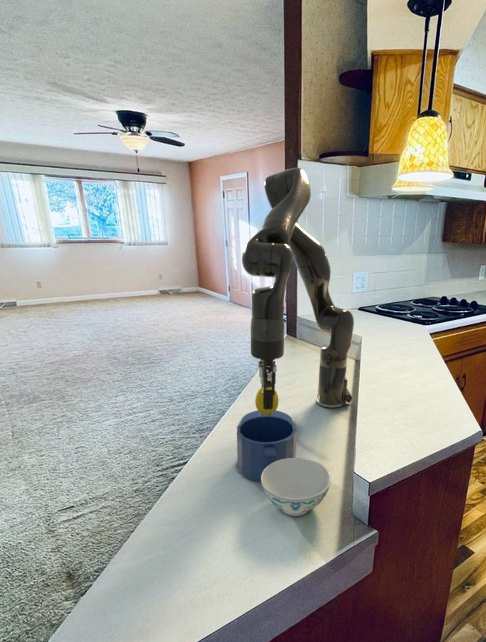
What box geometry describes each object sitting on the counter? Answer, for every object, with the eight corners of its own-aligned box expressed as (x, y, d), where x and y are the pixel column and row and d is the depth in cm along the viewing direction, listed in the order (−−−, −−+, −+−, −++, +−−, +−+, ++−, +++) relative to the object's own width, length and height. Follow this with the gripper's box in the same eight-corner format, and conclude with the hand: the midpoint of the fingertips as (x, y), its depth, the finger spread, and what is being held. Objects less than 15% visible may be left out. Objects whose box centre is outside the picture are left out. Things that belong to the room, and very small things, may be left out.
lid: (289, 411, 134) (289, 395, 132) (295, 435, 120) (296, 417, 118) (240, 413, 131) (240, 396, 129) (241, 438, 117) (240, 419, 115)
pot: (289, 443, 116) (290, 409, 112) (300, 486, 98) (302, 448, 94) (237, 446, 113) (236, 411, 109) (238, 490, 95) (237, 451, 91)
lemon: (274, 422, 97) (274, 391, 94) (252, 419, 98) (251, 388, 95) (280, 412, 102) (281, 383, 99) (259, 409, 103) (259, 380, 100)
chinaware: (254, 491, 95) (254, 463, 92) (315, 480, 100) (316, 453, 97) (270, 536, 82) (270, 505, 79) (339, 521, 87) (342, 491, 84)
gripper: (287, 344, 87) (286, 416, 93) (280, 327, 100) (279, 390, 106) (252, 344, 85) (252, 417, 92) (249, 327, 98) (250, 391, 105)
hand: (267, 402), depth 99 cm, fingers closed on lemon, 5 cm apart
